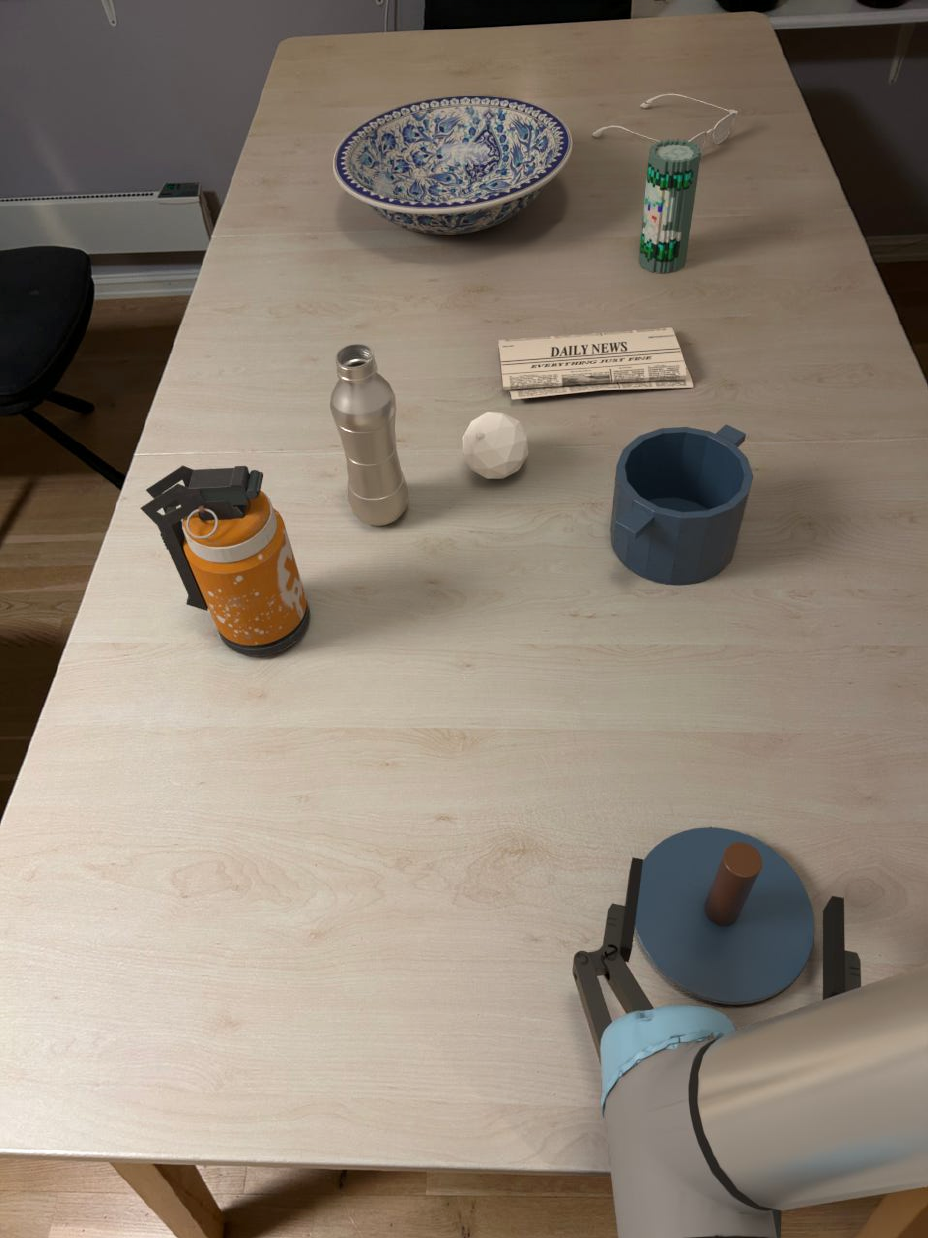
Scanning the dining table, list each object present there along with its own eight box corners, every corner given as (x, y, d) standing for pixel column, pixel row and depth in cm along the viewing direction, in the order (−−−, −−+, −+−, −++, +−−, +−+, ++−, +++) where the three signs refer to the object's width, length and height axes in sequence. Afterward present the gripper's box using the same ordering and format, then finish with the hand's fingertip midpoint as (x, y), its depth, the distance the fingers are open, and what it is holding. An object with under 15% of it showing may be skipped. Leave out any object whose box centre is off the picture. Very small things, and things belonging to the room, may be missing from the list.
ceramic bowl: (331, 173, 150) (321, 108, 142) (540, 144, 152) (541, 78, 144) (354, 290, 128) (343, 220, 120) (597, 254, 131) (601, 183, 123)
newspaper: (504, 407, 111) (503, 389, 109) (498, 355, 119) (498, 337, 118) (695, 393, 110) (698, 374, 108) (676, 342, 119) (678, 323, 117)
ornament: (541, 479, 103) (512, 459, 96) (480, 490, 106) (448, 472, 99) (537, 418, 104) (509, 394, 97) (478, 431, 107) (445, 408, 100)
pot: (773, 520, 97) (793, 450, 90) (670, 621, 90) (683, 555, 82) (673, 466, 103) (684, 397, 96) (569, 558, 95) (572, 490, 88)
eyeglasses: (680, 170, 144) (683, 144, 141) (588, 138, 152) (589, 113, 149) (735, 133, 151) (740, 107, 148) (644, 104, 159) (646, 79, 156)
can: (630, 261, 129) (640, 151, 117) (659, 244, 131) (672, 134, 120) (664, 277, 126) (678, 167, 114) (693, 260, 128) (710, 149, 117)
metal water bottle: (345, 531, 99) (311, 377, 84) (358, 488, 104) (328, 332, 88) (404, 535, 99) (381, 380, 83) (415, 491, 103) (395, 335, 87)
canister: (306, 658, 89) (259, 509, 74) (192, 663, 90) (121, 515, 74) (315, 587, 95) (272, 434, 79) (207, 592, 95) (144, 440, 80)
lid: (845, 910, 71) (885, 853, 63) (745, 1049, 66) (775, 1005, 58) (696, 802, 78) (715, 738, 70) (593, 920, 72) (602, 865, 64)
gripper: (499, 1186, 59) (557, 872, 71) (921, 1298, 54) (902, 940, 67) (496, 1167, 53) (559, 828, 65) (969, 1290, 48) (938, 900, 61)
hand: (732, 884), depth 66 cm, fingers open, 13 cm apart
